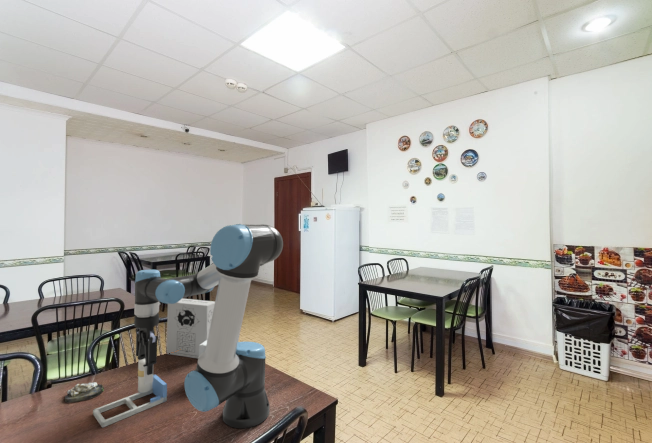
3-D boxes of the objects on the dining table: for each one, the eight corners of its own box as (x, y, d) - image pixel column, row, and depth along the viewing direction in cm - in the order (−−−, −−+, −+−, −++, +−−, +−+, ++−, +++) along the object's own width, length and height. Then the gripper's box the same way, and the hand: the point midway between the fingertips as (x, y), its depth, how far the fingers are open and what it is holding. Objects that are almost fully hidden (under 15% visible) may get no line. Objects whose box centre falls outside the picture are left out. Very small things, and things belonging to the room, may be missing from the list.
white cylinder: (155, 388, 109) (155, 360, 109) (140, 394, 106) (141, 365, 106) (149, 384, 112) (150, 356, 112) (135, 389, 109) (136, 360, 109)
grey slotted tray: (155, 390, 116) (155, 374, 116) (166, 400, 110) (167, 383, 110) (93, 414, 102) (93, 395, 102) (102, 427, 95) (102, 408, 95)
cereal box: (215, 353, 149) (216, 301, 149) (206, 360, 142) (207, 305, 142) (177, 347, 155) (178, 297, 155) (166, 354, 147) (167, 301, 147)
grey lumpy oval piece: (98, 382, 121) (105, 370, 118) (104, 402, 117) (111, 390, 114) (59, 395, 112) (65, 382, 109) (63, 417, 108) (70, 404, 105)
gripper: (169, 317, 106) (167, 385, 106) (148, 306, 117) (147, 368, 118) (145, 322, 100) (143, 394, 101) (126, 311, 112) (124, 375, 112)
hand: (145, 380), depth 109 cm, fingers closed on white cylinder, 5 cm apart
